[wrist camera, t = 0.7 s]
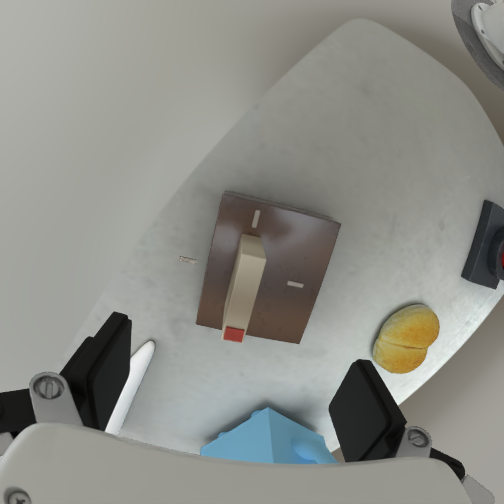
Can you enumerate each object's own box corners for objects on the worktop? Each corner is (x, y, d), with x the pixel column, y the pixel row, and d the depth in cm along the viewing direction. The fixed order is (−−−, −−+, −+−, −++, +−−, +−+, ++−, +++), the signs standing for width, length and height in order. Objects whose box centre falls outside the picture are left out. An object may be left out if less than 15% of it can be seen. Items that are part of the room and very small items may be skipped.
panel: (199, 184, 25) (193, 187, 22) (331, 217, 26) (342, 224, 23) (177, 303, 28) (170, 319, 25) (294, 328, 30) (299, 345, 27)
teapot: (245, 469, 38) (247, 537, 25) (190, 445, 35) (180, 521, 22) (355, 404, 34) (387, 482, 21) (304, 369, 31) (331, 465, 18)
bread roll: (440, 307, 30) (458, 322, 26) (407, 365, 32) (420, 383, 28) (394, 293, 29) (411, 310, 25) (359, 359, 31) (371, 379, 27)
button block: (484, 199, 26) (503, 204, 23) (514, 219, 27) (531, 225, 23) (460, 276, 29) (477, 287, 25) (492, 286, 30) (508, 296, 26)
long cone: (196, 362, 33) (120, 430, 34) (154, 327, 32) (87, 404, 33) (188, 388, 27) (108, 454, 29) (139, 349, 26) (71, 426, 28)
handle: (241, 233, 23) (241, 254, 18) (261, 237, 23) (267, 260, 18) (224, 304, 25) (220, 341, 20) (242, 308, 25) (242, 345, 20)
